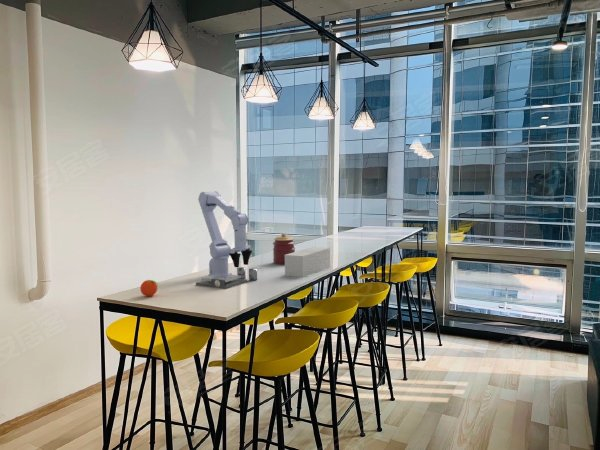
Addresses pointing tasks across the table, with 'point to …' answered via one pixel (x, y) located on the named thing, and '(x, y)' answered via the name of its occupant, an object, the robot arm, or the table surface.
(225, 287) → the scale
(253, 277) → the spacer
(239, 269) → the spacer
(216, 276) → the pan
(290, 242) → the canister
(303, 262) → the light grey rectangular block
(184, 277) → the table surface
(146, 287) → the clementine
